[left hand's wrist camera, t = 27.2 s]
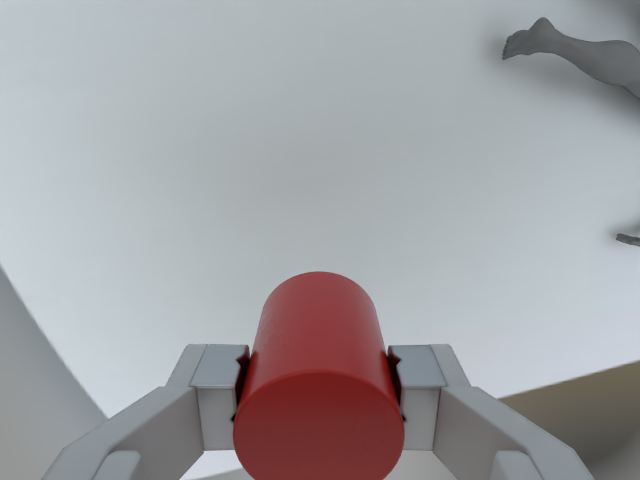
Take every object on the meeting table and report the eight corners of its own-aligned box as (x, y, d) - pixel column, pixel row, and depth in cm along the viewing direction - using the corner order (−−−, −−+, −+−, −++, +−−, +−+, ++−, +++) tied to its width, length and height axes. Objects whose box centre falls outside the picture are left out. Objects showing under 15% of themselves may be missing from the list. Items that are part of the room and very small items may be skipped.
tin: (388, 355, 13) (421, 483, 9) (282, 381, 13) (266, 517, 9) (360, 256, 12) (382, 351, 8) (244, 288, 12) (204, 396, 8)
